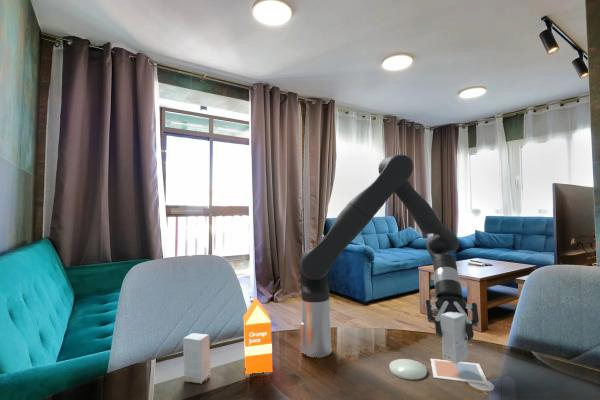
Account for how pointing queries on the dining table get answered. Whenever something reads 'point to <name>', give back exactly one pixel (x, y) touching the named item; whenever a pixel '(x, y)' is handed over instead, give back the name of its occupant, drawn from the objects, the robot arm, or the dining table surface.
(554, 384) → the dining table surface
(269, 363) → the orange juice
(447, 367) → the blue and orange card
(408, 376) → the coaster
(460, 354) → the skincare box
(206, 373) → the skincare box
